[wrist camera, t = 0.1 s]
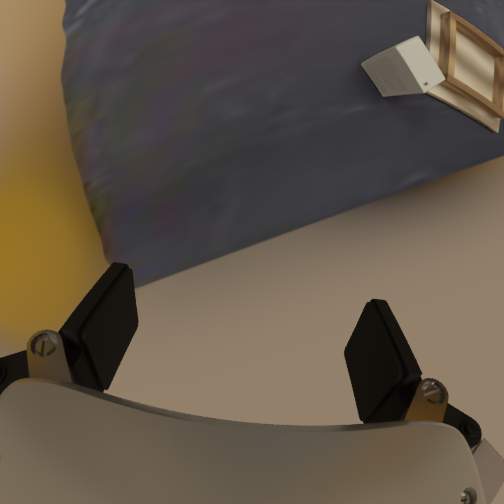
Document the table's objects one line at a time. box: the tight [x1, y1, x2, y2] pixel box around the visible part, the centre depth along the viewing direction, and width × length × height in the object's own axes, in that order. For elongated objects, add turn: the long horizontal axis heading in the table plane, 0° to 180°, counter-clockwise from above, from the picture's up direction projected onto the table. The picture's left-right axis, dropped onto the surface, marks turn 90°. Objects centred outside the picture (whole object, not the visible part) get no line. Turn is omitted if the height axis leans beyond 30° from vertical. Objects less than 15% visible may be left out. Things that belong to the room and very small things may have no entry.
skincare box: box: [361, 36, 445, 97], centre depth 25 cm, size 6×4×12 cm
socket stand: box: [426, 0, 504, 132], centre depth 25 cm, size 18×18×4 cm
